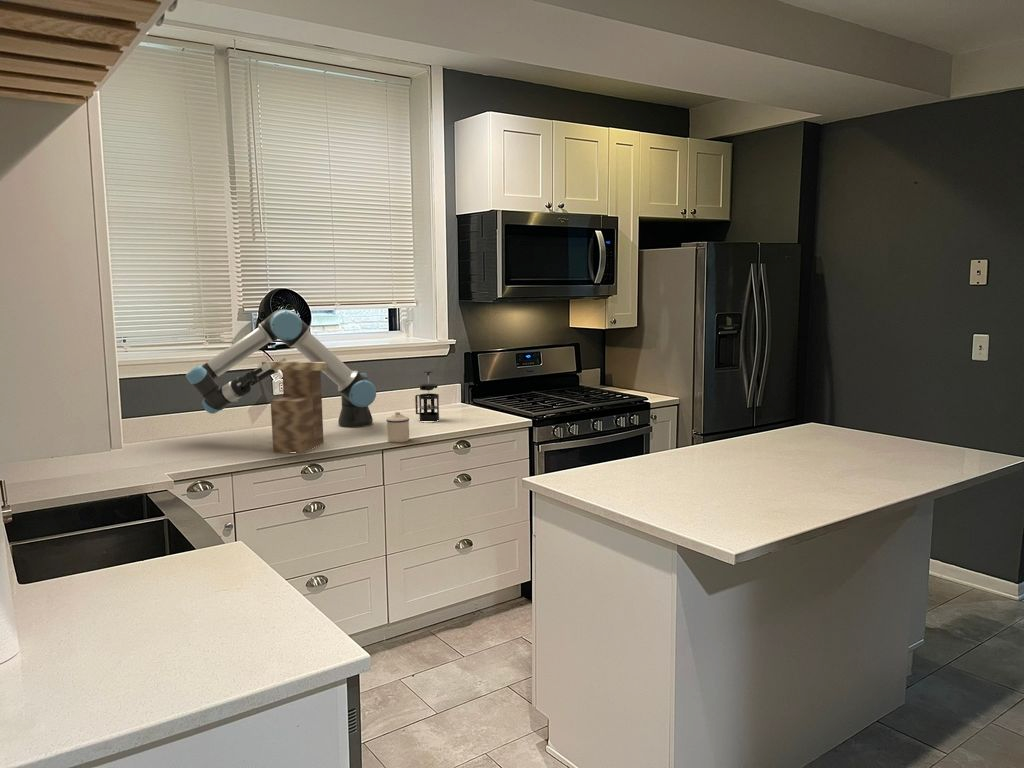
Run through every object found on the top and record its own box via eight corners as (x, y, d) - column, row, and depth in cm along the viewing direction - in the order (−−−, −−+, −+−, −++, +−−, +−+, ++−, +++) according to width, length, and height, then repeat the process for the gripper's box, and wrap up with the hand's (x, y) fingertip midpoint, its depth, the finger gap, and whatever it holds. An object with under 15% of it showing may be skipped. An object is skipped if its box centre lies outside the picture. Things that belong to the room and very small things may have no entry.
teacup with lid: (414, 440, 304) (413, 412, 302) (395, 443, 297) (394, 414, 296) (397, 435, 312) (396, 408, 310) (378, 439, 306) (377, 411, 304)
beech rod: (261, 369, 294) (261, 361, 293) (265, 368, 297) (265, 361, 296) (323, 370, 289) (323, 362, 288) (327, 369, 292) (326, 362, 291)
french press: (444, 419, 347) (443, 370, 344) (436, 423, 338) (435, 372, 335) (420, 418, 351) (419, 369, 347) (412, 422, 342) (411, 371, 338)
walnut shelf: (273, 452, 284) (269, 374, 280) (295, 442, 301) (292, 368, 297) (302, 453, 282) (298, 374, 277) (323, 443, 299) (320, 368, 295)
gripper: (258, 392, 311) (297, 367, 306) (223, 402, 287) (266, 375, 281) (249, 376, 311) (288, 351, 305) (214, 385, 286) (256, 358, 281)
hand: (278, 362), depth 293 cm, fingers open, 13 cm apart
